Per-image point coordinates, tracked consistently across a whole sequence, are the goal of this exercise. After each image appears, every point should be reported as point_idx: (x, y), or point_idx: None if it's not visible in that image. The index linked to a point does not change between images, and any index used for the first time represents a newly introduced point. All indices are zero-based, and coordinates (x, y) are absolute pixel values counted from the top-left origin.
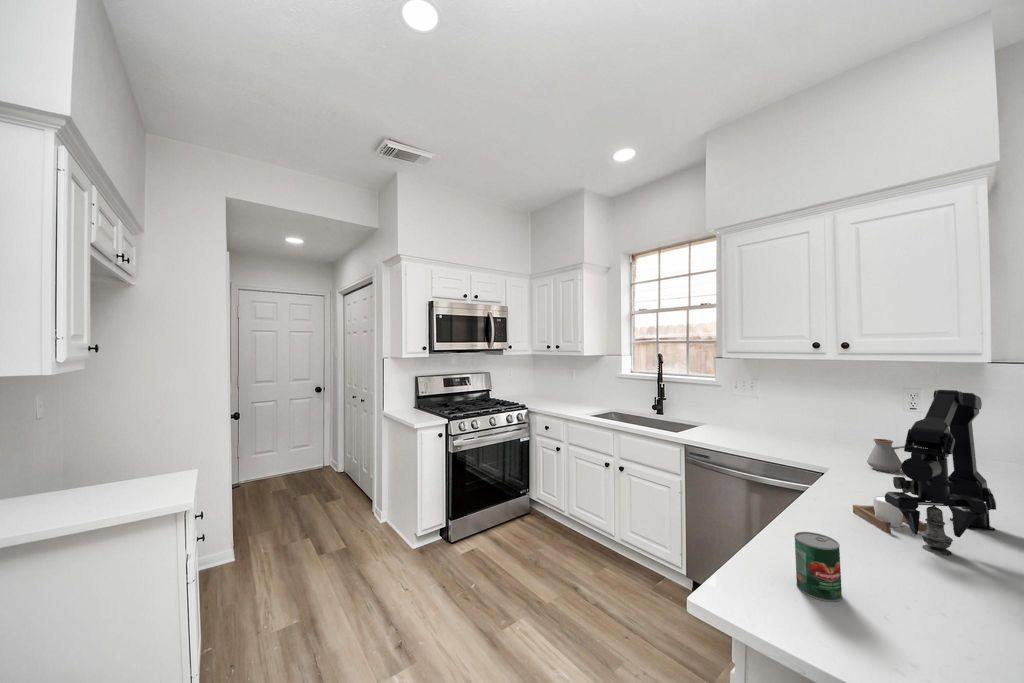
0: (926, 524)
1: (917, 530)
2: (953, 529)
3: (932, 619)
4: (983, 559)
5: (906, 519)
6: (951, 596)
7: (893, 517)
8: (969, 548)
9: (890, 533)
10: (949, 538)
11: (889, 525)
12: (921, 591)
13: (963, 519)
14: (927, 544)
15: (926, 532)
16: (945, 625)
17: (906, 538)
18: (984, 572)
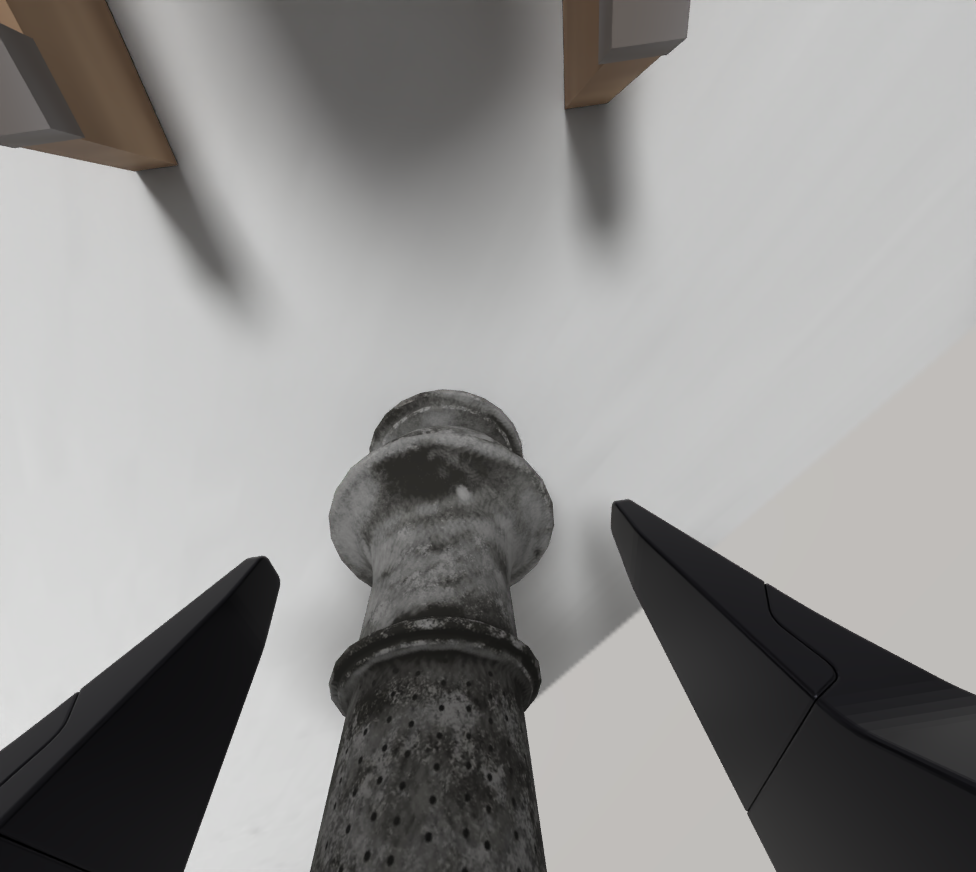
0: (610, 11)
1: (257, 643)
2: (637, 535)
3: (226, 847)
4: (641, 500)
5: (83, 708)
6: (308, 778)
7: None
8: (708, 347)
9: (174, 163)
10: (519, 565)
11: (80, 143)
12: (229, 784)
13: (759, 801)
14: (415, 415)
15: (369, 549)
16: (247, 851)
17: (309, 275)
18: (526, 626)
